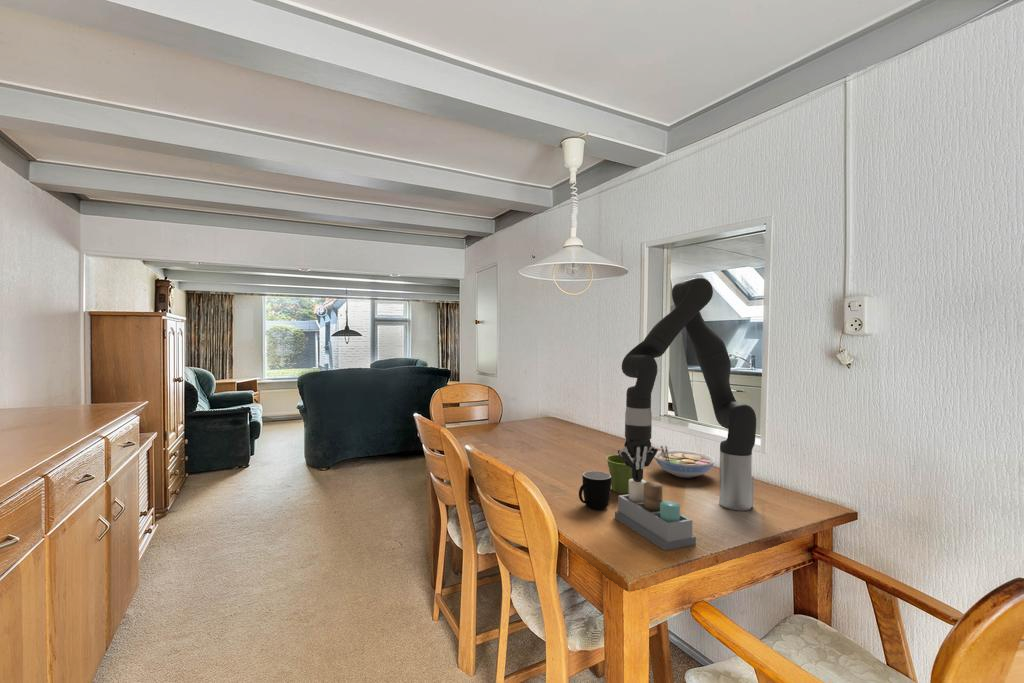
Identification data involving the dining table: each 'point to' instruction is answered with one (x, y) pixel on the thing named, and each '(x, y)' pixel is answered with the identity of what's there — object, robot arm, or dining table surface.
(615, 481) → the plant pot
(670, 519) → the teal rounded cylinder
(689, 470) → the ramen bowl
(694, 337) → the robot arm
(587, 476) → the mug
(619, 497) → the grey compartment tray
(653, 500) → the brown rounded cylinder
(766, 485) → the dining table surface
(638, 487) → the white rounded piece
